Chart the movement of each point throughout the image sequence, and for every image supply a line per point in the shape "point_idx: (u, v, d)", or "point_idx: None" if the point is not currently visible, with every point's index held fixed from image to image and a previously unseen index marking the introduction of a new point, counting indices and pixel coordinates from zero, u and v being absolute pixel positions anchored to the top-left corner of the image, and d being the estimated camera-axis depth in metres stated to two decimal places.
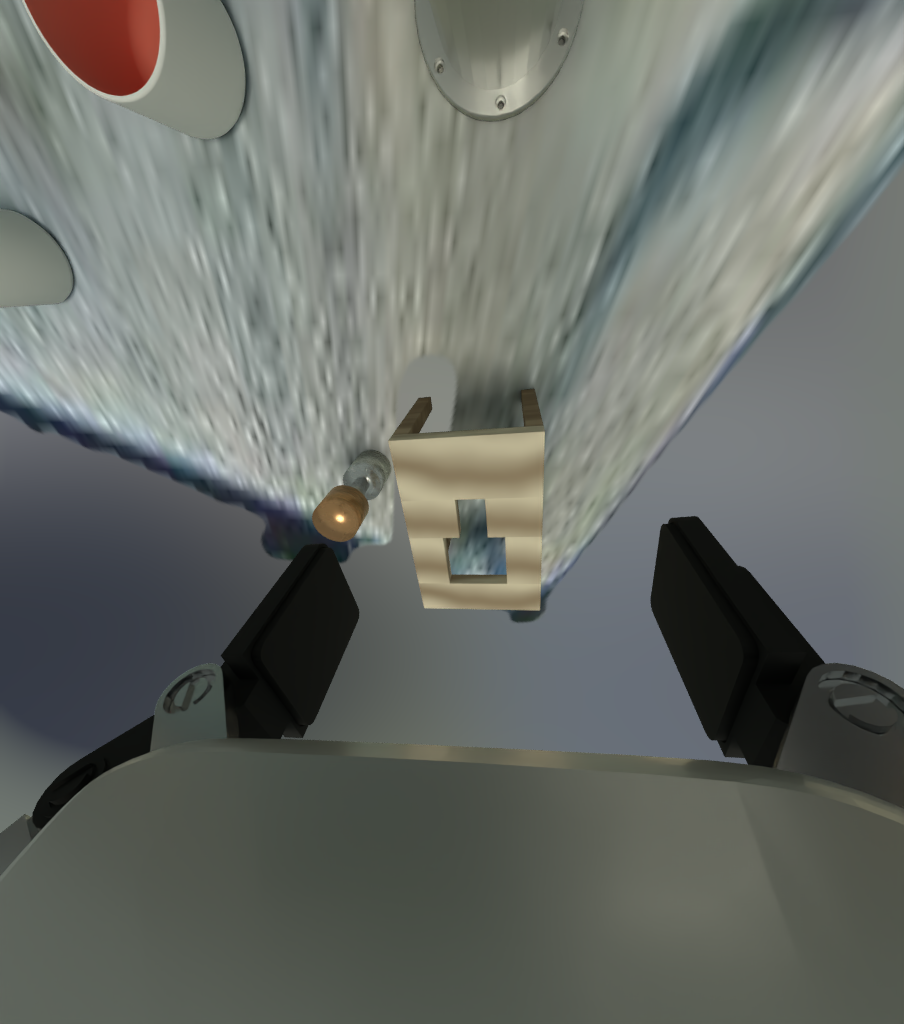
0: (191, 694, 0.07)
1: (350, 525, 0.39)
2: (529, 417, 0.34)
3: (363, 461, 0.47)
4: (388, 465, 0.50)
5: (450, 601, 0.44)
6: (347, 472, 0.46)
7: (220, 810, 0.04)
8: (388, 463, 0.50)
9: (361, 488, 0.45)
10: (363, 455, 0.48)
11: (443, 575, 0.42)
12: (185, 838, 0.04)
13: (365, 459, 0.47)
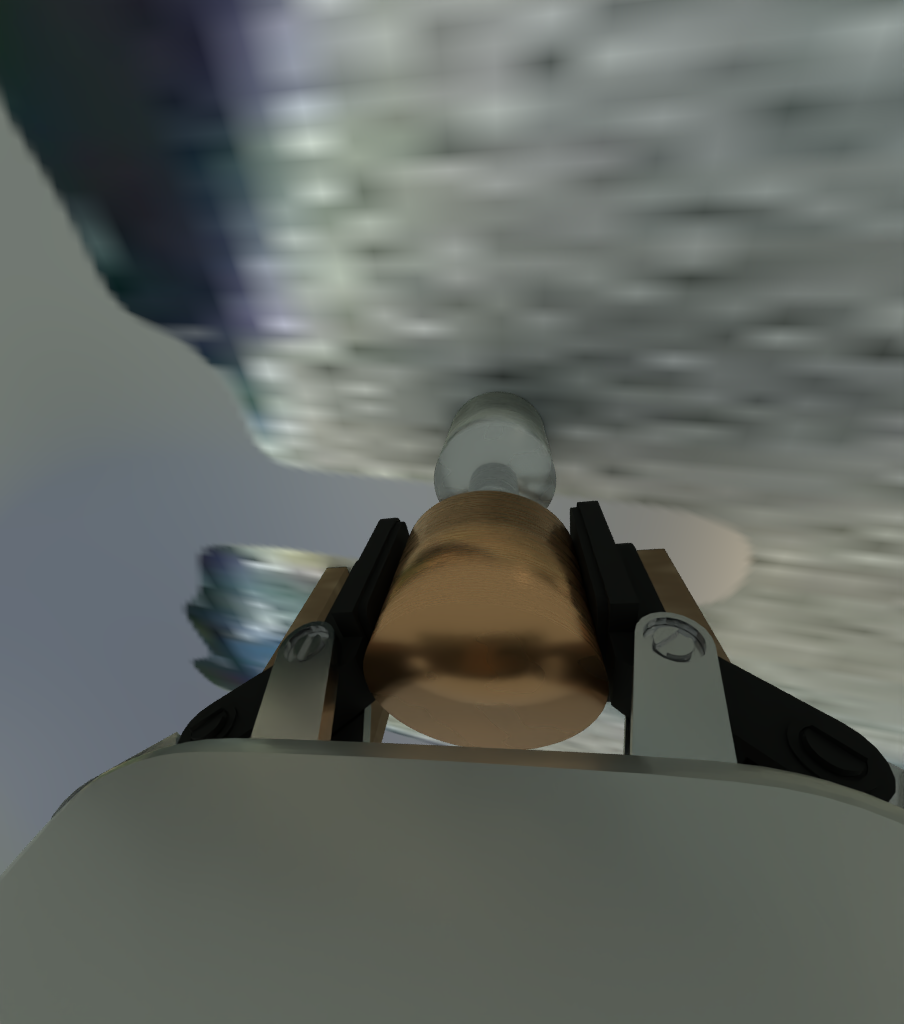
0: (306, 648, 0.08)
1: (476, 732, 0.09)
2: None
3: None
4: None
5: None
6: (532, 444, 0.14)
7: (220, 810, 0.04)
8: None
9: None
10: None
11: None
12: (185, 838, 0.04)
13: None
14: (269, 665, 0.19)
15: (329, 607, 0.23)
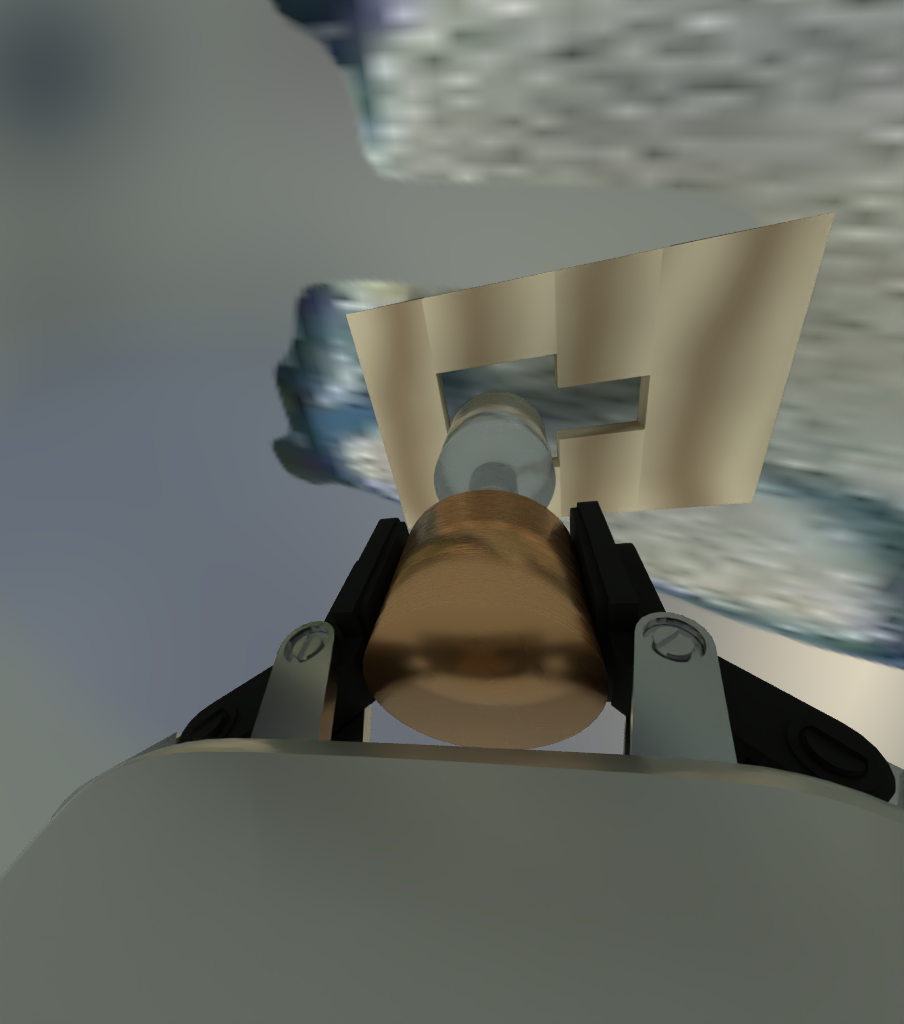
0: (306, 647, 0.08)
1: (475, 732, 0.08)
2: None
3: None
4: None
5: (386, 378, 0.21)
6: (532, 444, 0.14)
7: (220, 810, 0.04)
8: None
9: None
10: None
11: (455, 358, 0.20)
12: (185, 838, 0.04)
13: None
14: (382, 306, 0.25)
15: None
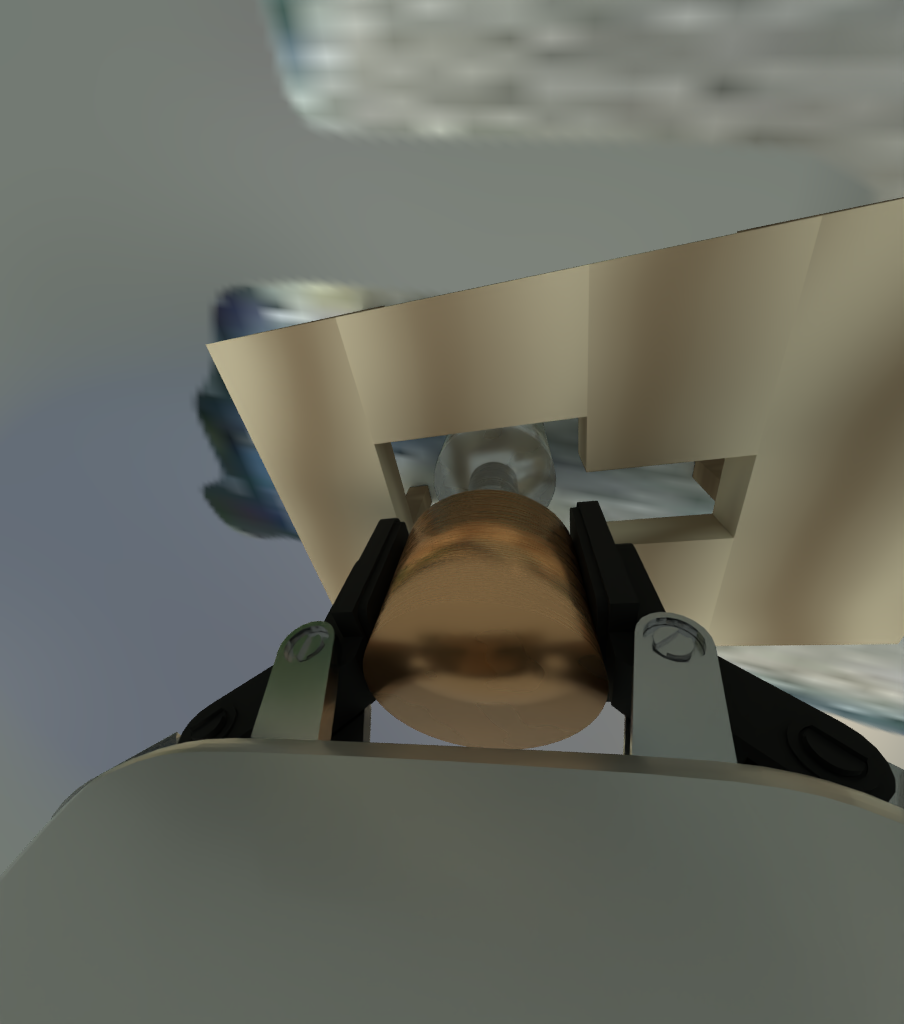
0: (306, 647, 0.08)
1: (475, 732, 0.08)
2: None
3: None
4: None
5: (292, 449, 0.12)
6: (532, 444, 0.14)
7: (220, 810, 0.04)
8: None
9: None
10: None
11: (406, 421, 0.11)
12: (185, 838, 0.04)
13: None
14: None
15: None
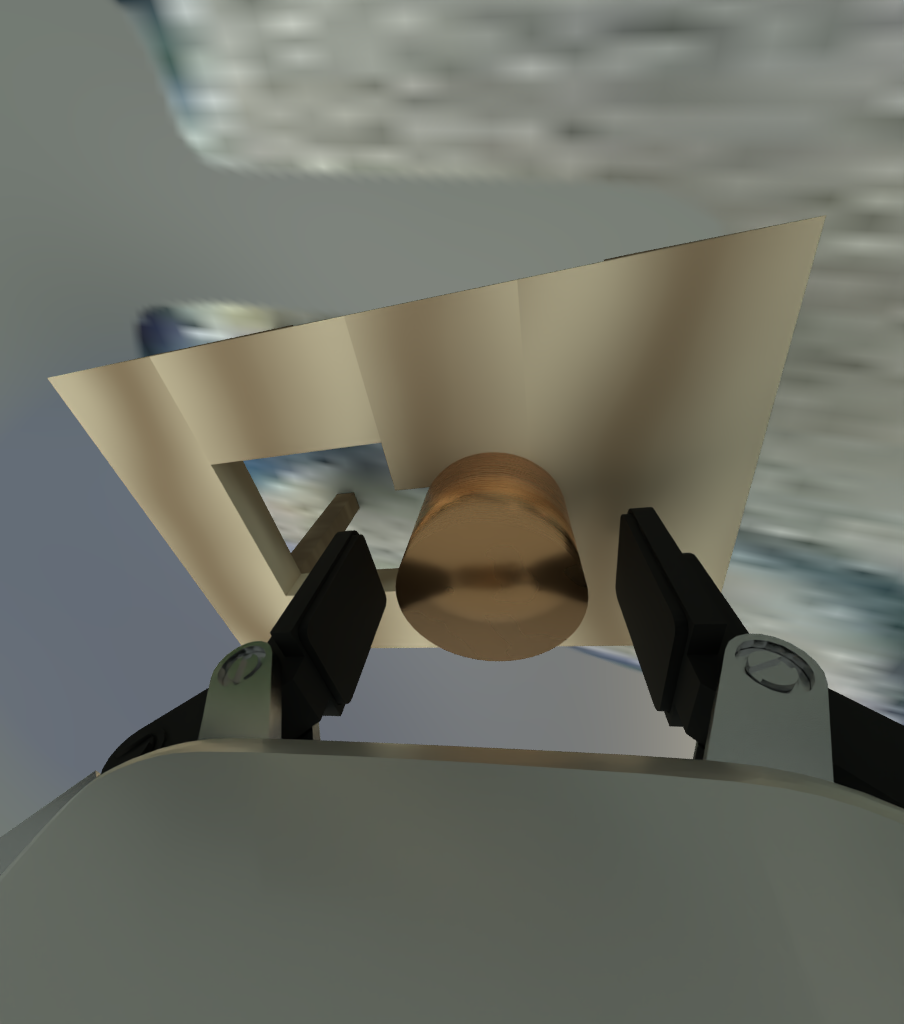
0: (242, 669, 0.08)
1: (484, 644, 0.11)
2: None
3: None
4: None
5: (142, 468, 0.14)
6: None
7: (220, 810, 0.04)
8: None
9: None
10: None
11: (232, 445, 0.13)
12: (185, 838, 0.04)
13: None
14: None
15: None
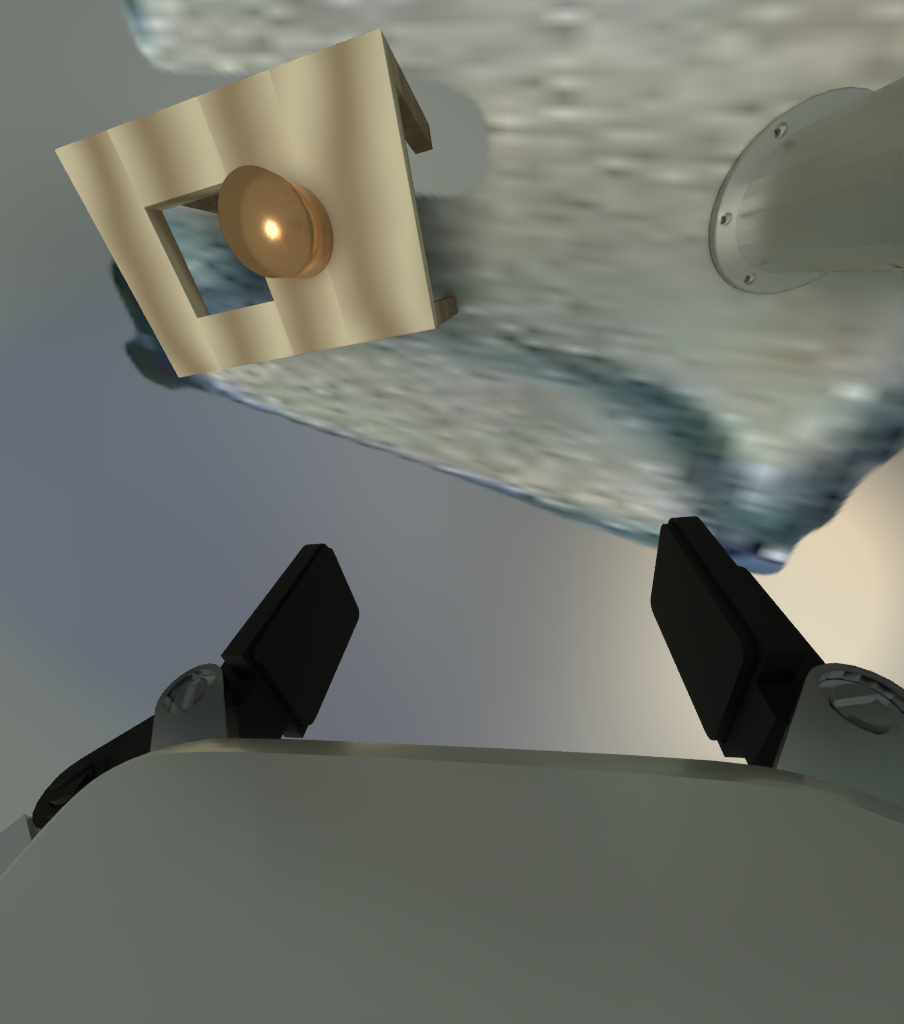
0: (191, 694, 0.07)
1: (269, 263, 0.21)
2: (440, 307, 0.28)
3: None
4: None
5: (107, 214, 0.25)
6: None
7: (220, 810, 0.04)
8: None
9: None
10: None
11: (153, 190, 0.24)
12: (185, 838, 0.04)
13: None
14: None
15: None
